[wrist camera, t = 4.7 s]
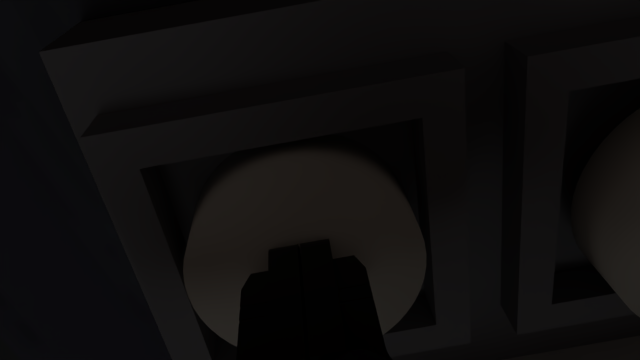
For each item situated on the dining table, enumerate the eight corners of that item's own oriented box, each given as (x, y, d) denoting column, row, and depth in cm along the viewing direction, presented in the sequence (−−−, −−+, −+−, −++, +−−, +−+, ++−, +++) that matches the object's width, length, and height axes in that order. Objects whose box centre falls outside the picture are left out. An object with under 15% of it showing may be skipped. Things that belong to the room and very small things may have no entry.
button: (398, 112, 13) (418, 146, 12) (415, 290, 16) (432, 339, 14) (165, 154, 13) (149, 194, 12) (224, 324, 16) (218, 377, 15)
